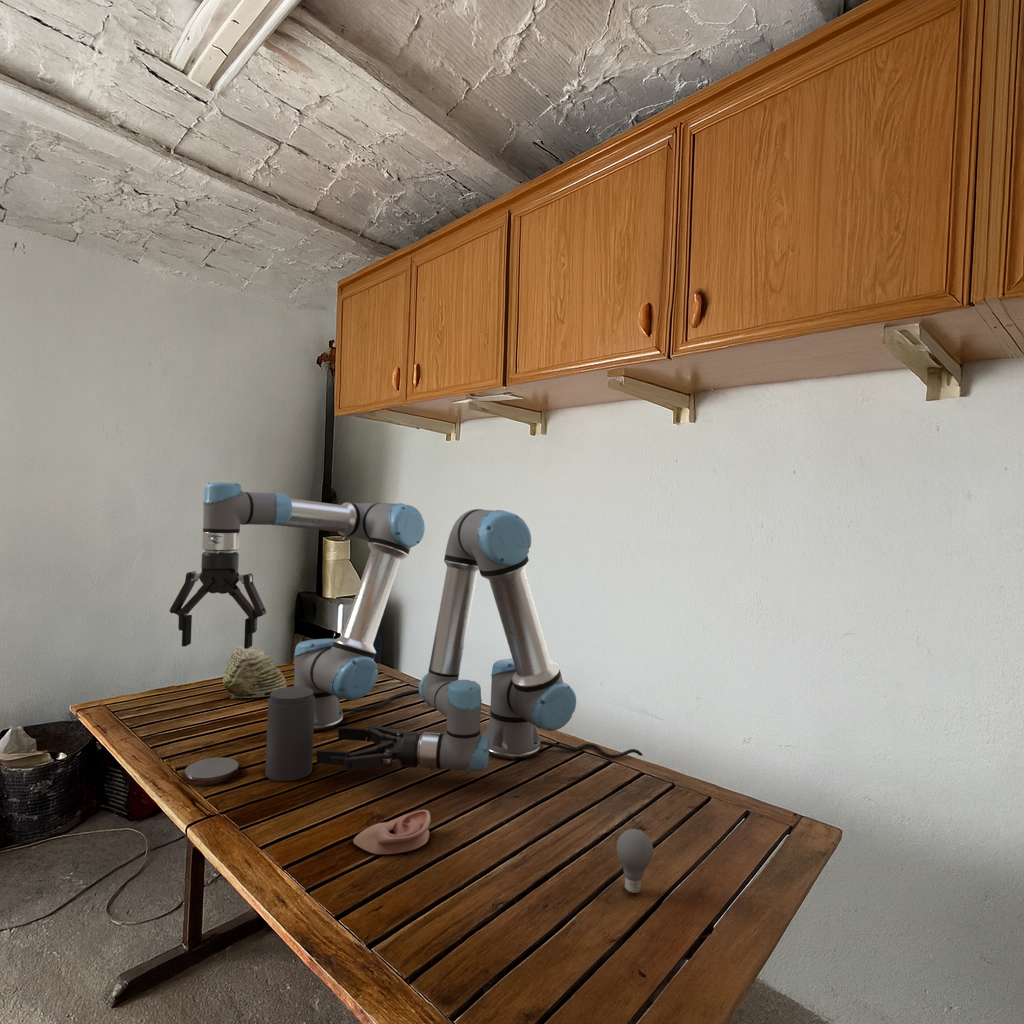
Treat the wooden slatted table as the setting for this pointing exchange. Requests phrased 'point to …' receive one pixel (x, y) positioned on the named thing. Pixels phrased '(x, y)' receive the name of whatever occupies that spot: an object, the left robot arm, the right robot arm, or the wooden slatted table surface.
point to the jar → (290, 733)
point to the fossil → (251, 674)
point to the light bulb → (634, 857)
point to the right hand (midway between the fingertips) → (328, 744)
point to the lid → (211, 771)
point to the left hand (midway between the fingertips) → (217, 646)
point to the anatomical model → (396, 834)
